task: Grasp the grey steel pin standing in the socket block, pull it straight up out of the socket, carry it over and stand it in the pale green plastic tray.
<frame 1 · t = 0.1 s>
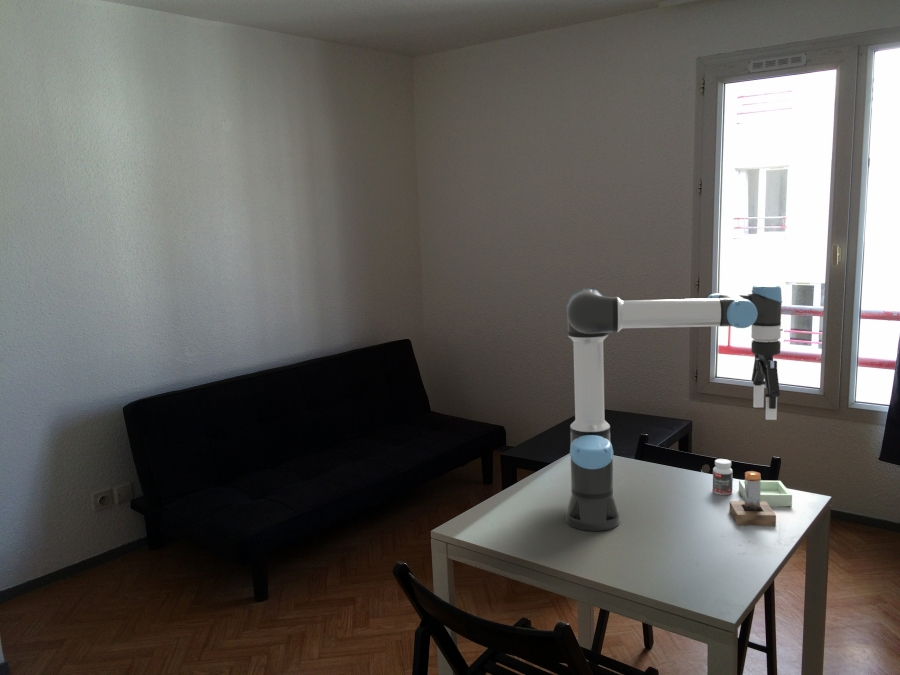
hand: (764, 413, 208), 28 cm above the table, fingers open, 13 cm apart
tray: (764, 498, 218), on the table
pill bottle: (722, 492, 224), on the table
pin: (752, 496, 203), in the socket
socket: (752, 518, 204), on the table
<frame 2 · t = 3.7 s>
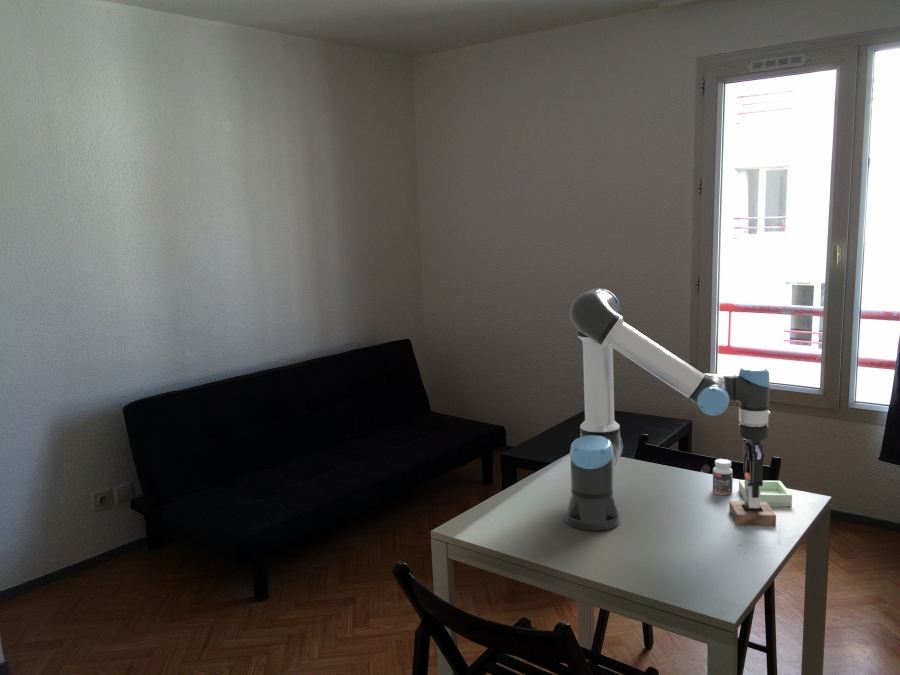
hand: (752, 504, 203), 4 cm above the table, fingers closed on pin, 4 cm apart
pin: (752, 496, 203), in the socket, touching gripper
everything else where it was.
when the fingers open (6 cm above the table, at t = 12.4 s): pin stays where it is, resting on tray.
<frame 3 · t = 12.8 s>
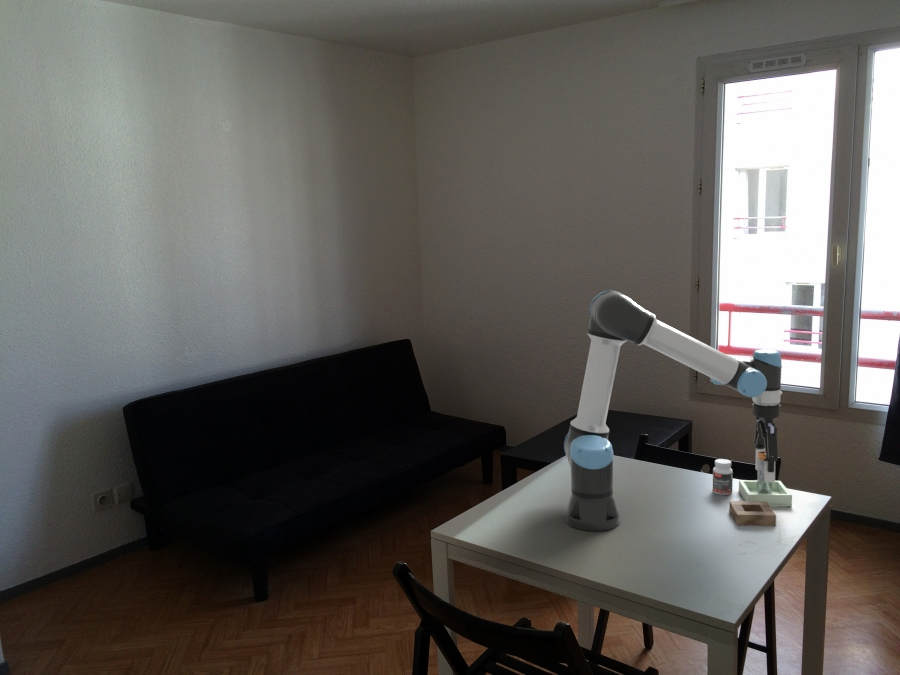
hand: (764, 475, 216), 7 cm above the table, fingers open, 10 cm apart
pin: (764, 474, 216), in the tray, point 8 cm above the table
everything else where it was.
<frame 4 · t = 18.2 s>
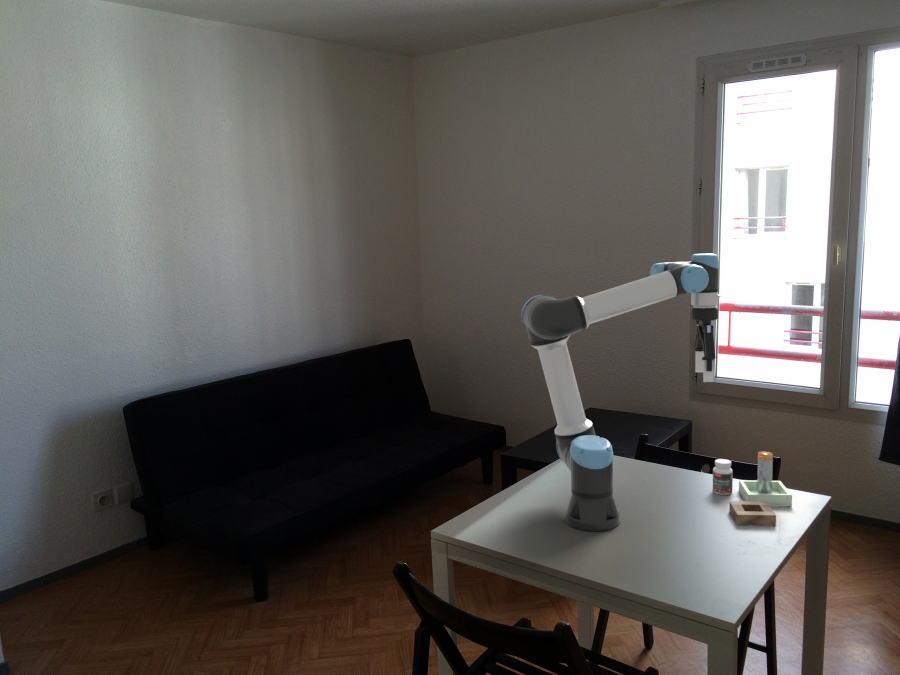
hand: (704, 377, 218), 37 cm above the table, fingers open, 13 cm apart
nothing on the table moved.
at the end: pin inside the target area on the tray (0.0 cm from its centre), point 7.5 cm above the tray's base; pin touching tray; the gripper is holding nothing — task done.
